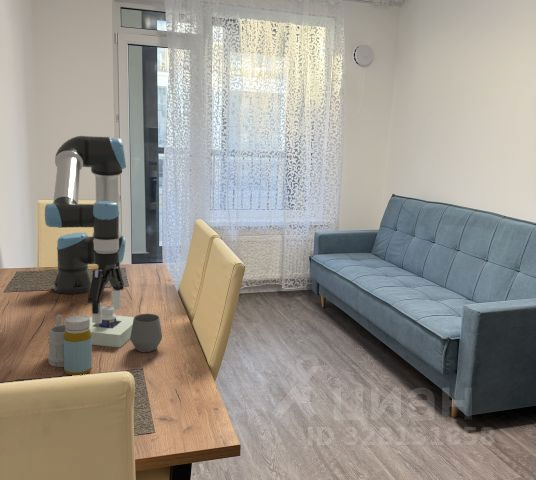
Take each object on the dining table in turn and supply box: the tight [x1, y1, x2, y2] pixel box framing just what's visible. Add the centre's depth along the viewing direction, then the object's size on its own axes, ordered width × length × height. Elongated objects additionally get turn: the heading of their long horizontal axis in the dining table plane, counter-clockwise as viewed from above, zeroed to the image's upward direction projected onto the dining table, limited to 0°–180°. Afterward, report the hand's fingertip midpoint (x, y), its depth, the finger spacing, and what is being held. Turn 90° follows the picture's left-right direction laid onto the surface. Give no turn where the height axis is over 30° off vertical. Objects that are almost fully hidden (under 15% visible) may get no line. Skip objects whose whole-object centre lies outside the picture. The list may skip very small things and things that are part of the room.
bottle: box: [63, 314, 93, 376], centre depth 135 cm, size 7×7×15 cm
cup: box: [129, 313, 163, 353], centre depth 152 cm, size 10×9×10 cm
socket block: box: [89, 315, 135, 348], centre depth 162 cm, size 16×16×4 cm
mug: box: [47, 313, 65, 368], centre depth 142 cm, size 8×12×12 cm, turn 29°
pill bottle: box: [99, 305, 117, 328], centre depth 161 cm, size 5×5×9 cm
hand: (107, 315), depth 161 cm, fingers open, 13 cm apart
